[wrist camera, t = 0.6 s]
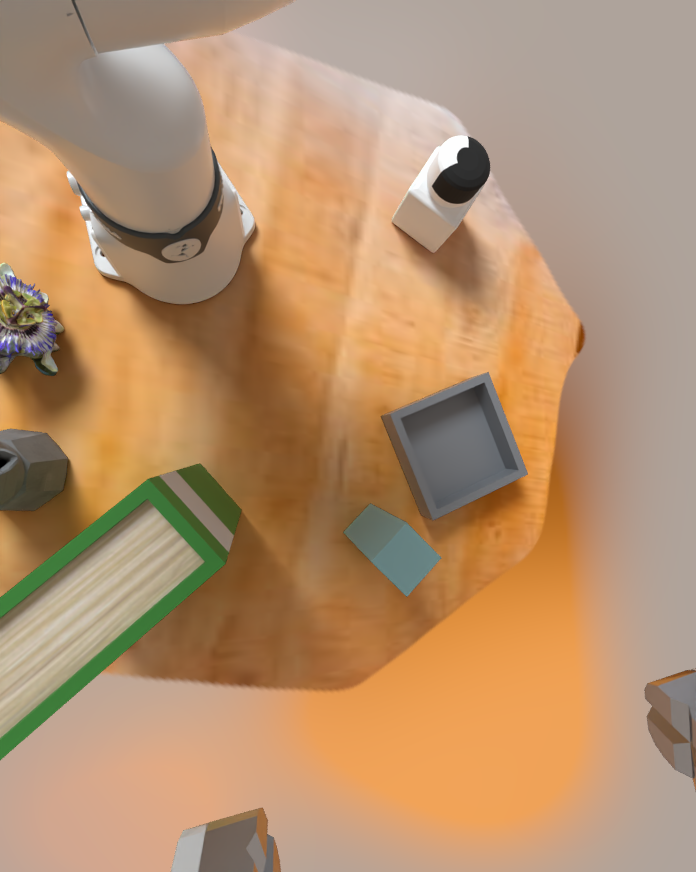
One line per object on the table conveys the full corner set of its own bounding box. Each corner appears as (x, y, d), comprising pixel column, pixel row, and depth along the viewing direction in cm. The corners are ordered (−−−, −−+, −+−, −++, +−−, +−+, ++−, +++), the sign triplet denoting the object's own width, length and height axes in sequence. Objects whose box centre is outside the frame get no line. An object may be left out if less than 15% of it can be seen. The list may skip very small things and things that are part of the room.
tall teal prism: (343, 532, 54) (370, 561, 41) (370, 503, 55) (406, 522, 41) (370, 559, 55) (406, 597, 41) (396, 530, 56) (441, 557, 42)
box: (380, 416, 56) (389, 413, 52) (473, 376, 58) (488, 372, 54) (421, 515, 56) (433, 520, 52) (510, 472, 59) (528, 474, 55)
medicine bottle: (459, 213, 58) (509, 155, 47) (433, 255, 57) (477, 206, 46) (417, 180, 57) (457, 111, 45) (389, 221, 56) (423, 163, 45)
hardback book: (119, 614, 49) (-12, 770, 25) (73, 566, 48) (-106, 682, 25) (241, 509, 52) (225, 563, 28) (200, 463, 51) (148, 478, 28)
